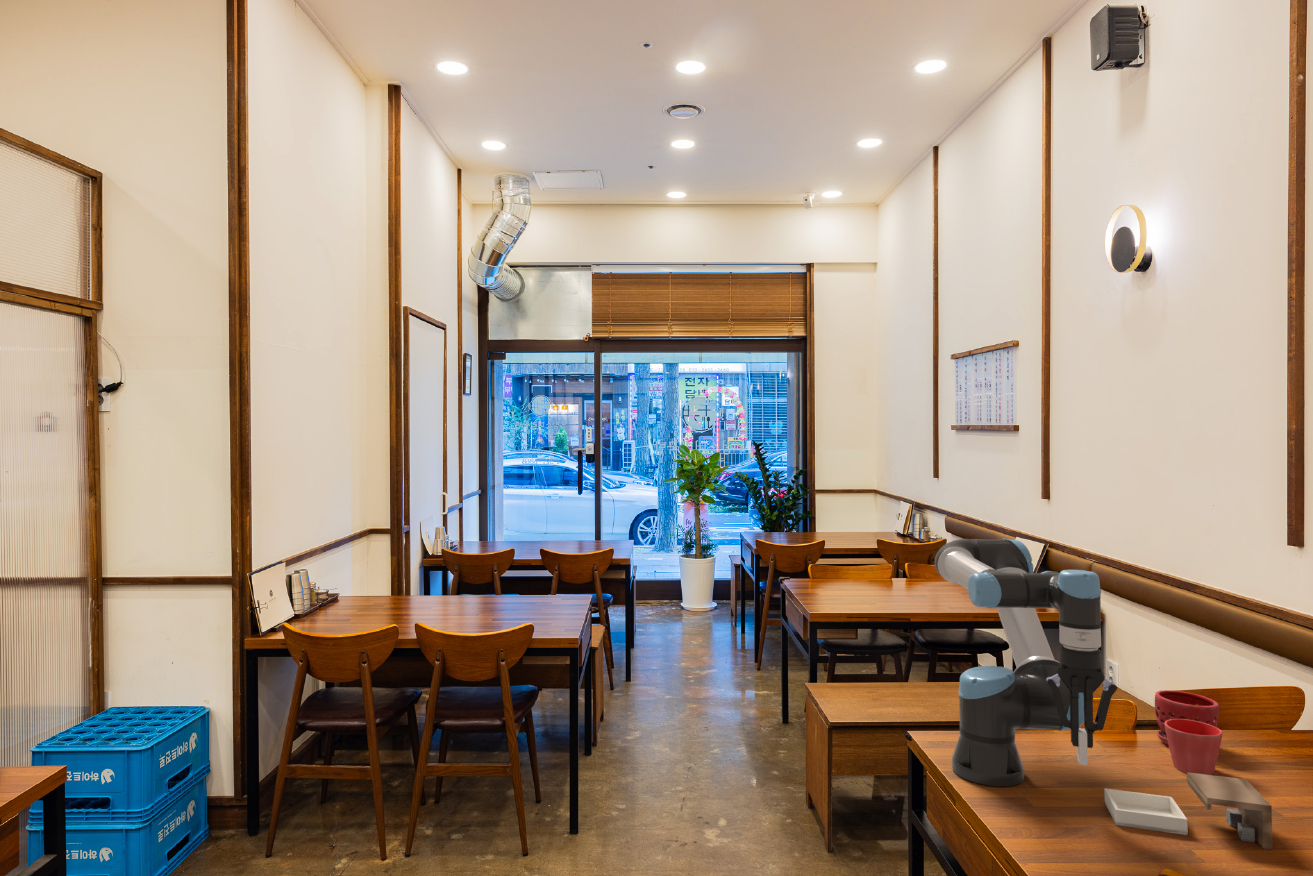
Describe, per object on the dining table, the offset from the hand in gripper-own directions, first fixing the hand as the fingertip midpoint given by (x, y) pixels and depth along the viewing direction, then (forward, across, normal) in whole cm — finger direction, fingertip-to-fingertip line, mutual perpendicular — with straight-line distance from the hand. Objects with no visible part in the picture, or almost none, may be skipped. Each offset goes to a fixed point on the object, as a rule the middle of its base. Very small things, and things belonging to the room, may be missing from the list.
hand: (1082, 762), depth 155 cm
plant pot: (+10, +31, +47) cm, 57 cm away
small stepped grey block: (+10, +27, 0) cm, 29 cm away
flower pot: (+10, +28, +31) cm, 43 cm away
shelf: (+10, +25, 0) cm, 27 cm away
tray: (+10, +11, 0) cm, 15 cm away
